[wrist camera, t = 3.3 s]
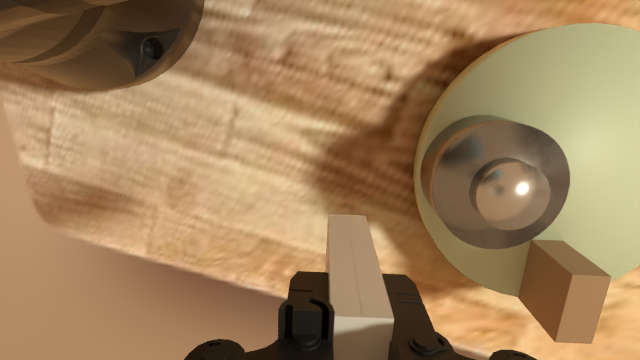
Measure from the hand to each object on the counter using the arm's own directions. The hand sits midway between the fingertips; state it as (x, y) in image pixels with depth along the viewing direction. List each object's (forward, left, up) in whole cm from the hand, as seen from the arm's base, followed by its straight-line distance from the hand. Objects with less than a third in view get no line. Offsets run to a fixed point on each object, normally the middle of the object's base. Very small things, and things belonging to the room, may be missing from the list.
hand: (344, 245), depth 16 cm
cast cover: (+10, 0, -12) cm, 16 cm away
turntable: (+16, 0, -15) cm, 22 cm away
